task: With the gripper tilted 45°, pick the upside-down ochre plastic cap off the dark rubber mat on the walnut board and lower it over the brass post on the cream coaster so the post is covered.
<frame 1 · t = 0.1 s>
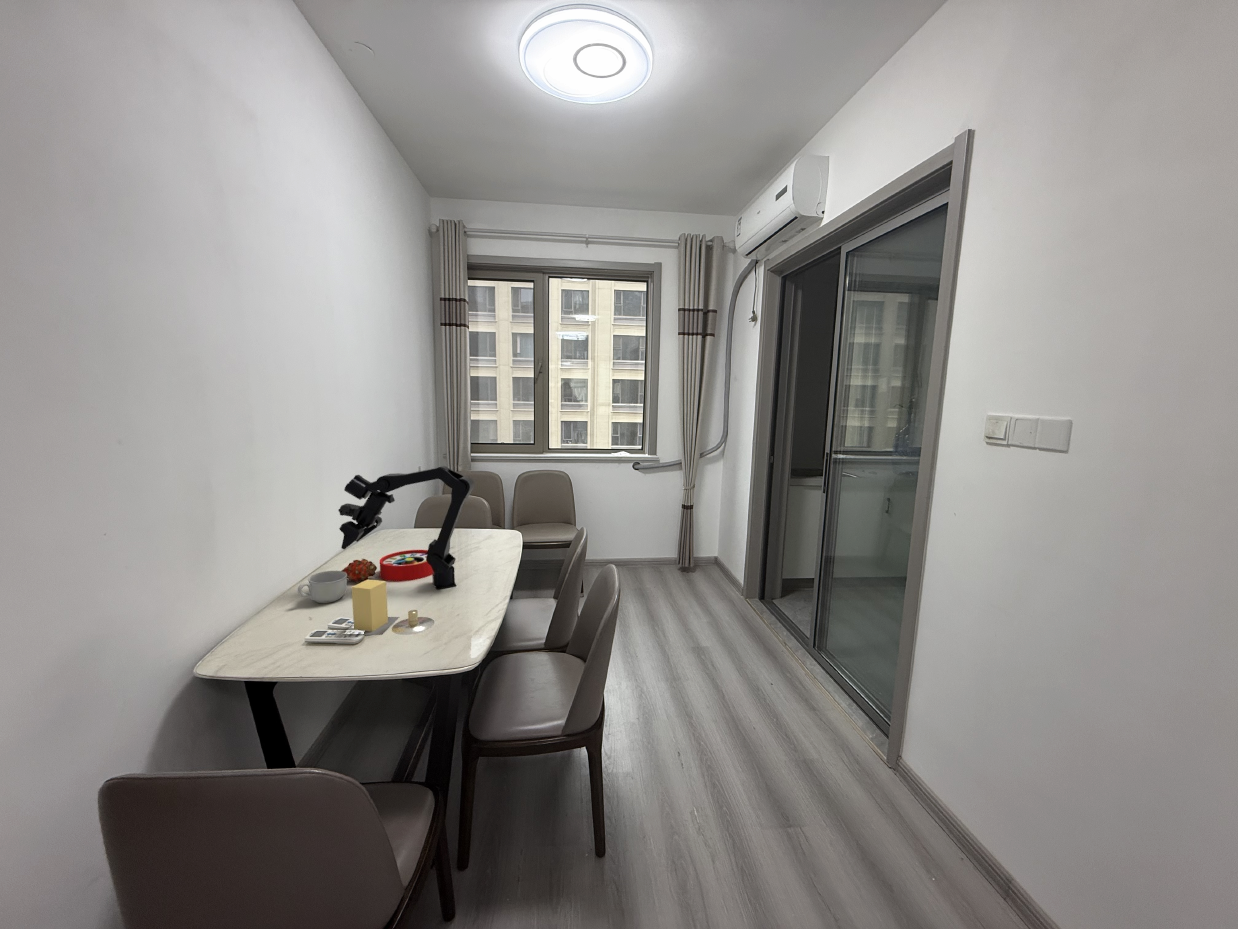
hand: (349, 544, 164), 15 cm above the table, tool tilted 35°, fingers open, 9 cm apart
brass post: (413, 626, 134), resting on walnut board
dragon fruit: (359, 581, 171), on the table
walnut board: (392, 629, 134), on the table
toy clock: (409, 573, 181), on the table
teacup: (323, 601, 154), on the table
cover cup: (371, 625, 134), point 1 cm above the table, touching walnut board
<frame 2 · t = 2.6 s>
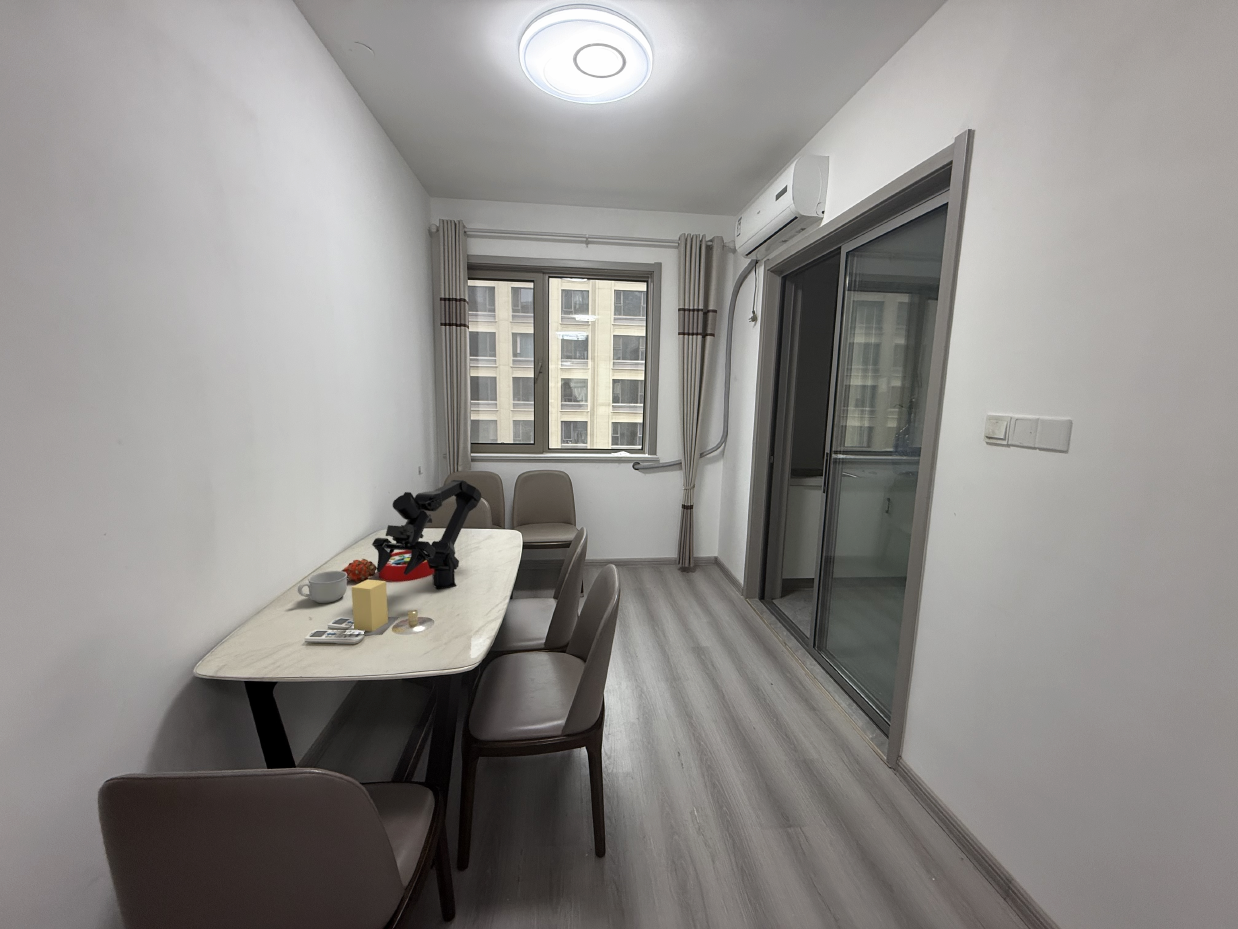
hand: (391, 573, 141), 13 cm above the table, tool tilted 45°, fingers open, 9 cm apart
nothing on the table moved.
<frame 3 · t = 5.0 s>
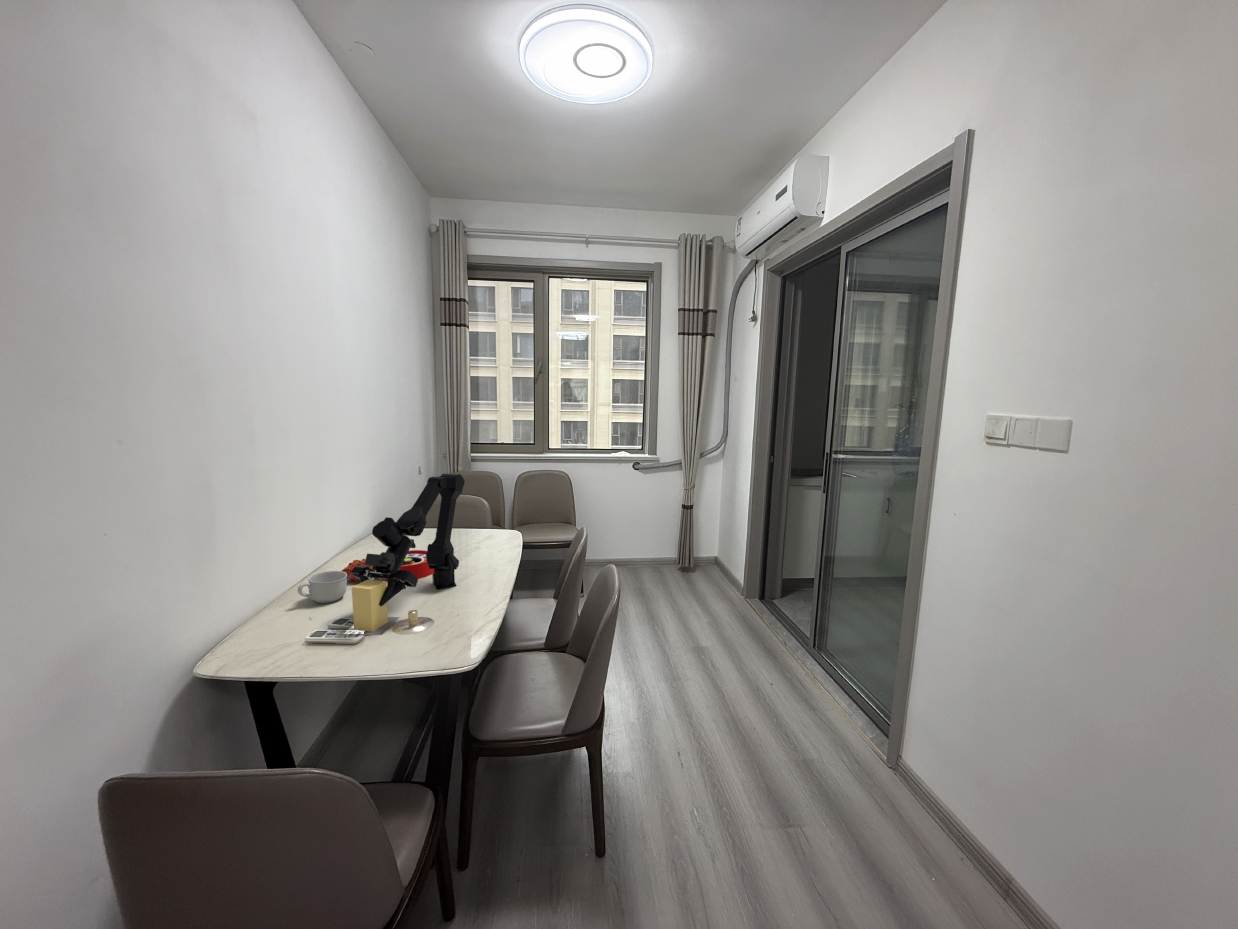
hand: (370, 604, 134), 7 cm above the table, tool tilted 45°, fingers closed on cover cup, 6 cm apart
cover cup: (371, 625, 134), point 1 cm above the table, touching gripper, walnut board
everything else where it was.
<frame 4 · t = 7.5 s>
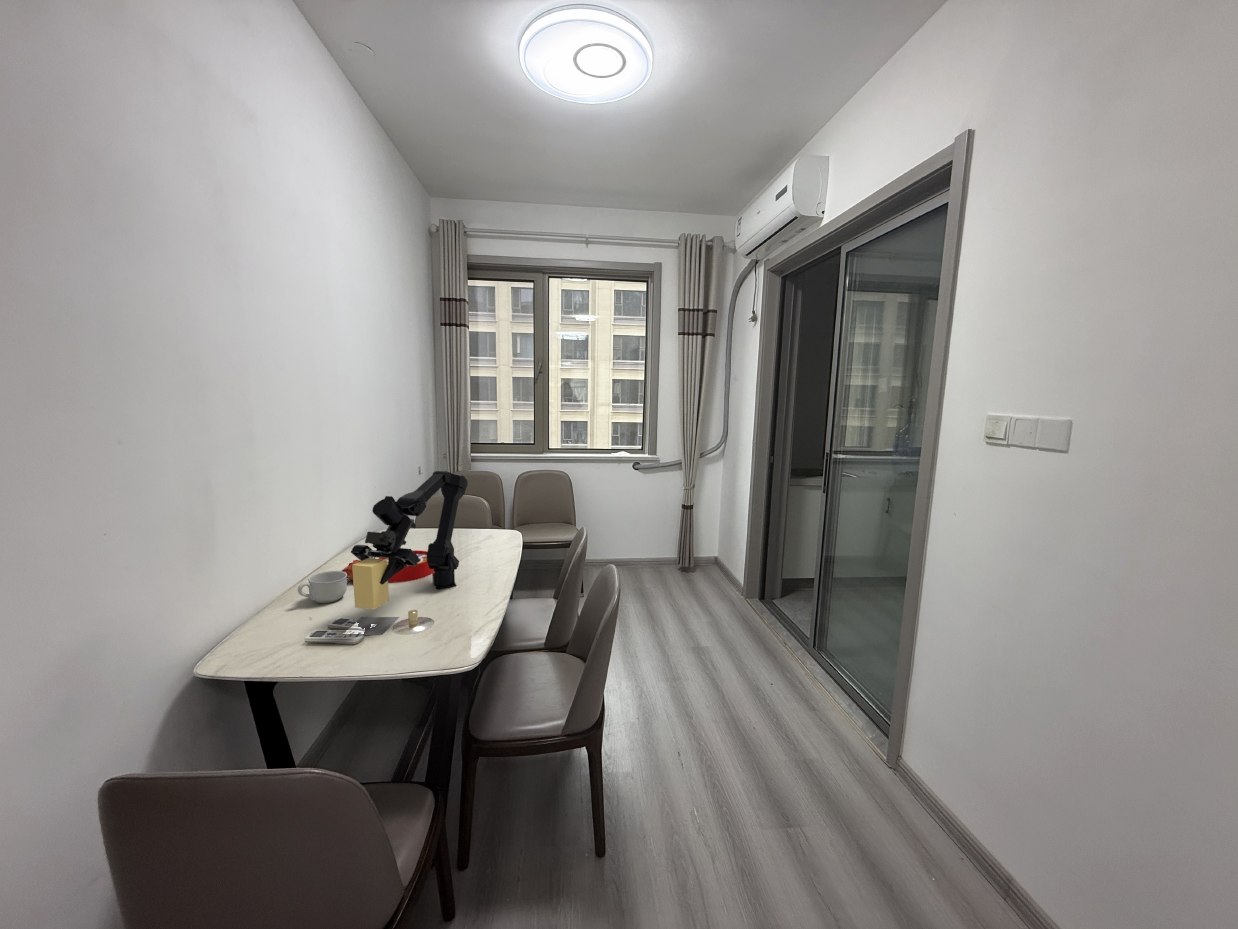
hand: (371, 582, 133), 13 cm above the table, tool tilted 45°, fingers closed on cover cup, 6 cm apart
cover cup: (372, 604, 133), point 7 cm above the table, touching gripper
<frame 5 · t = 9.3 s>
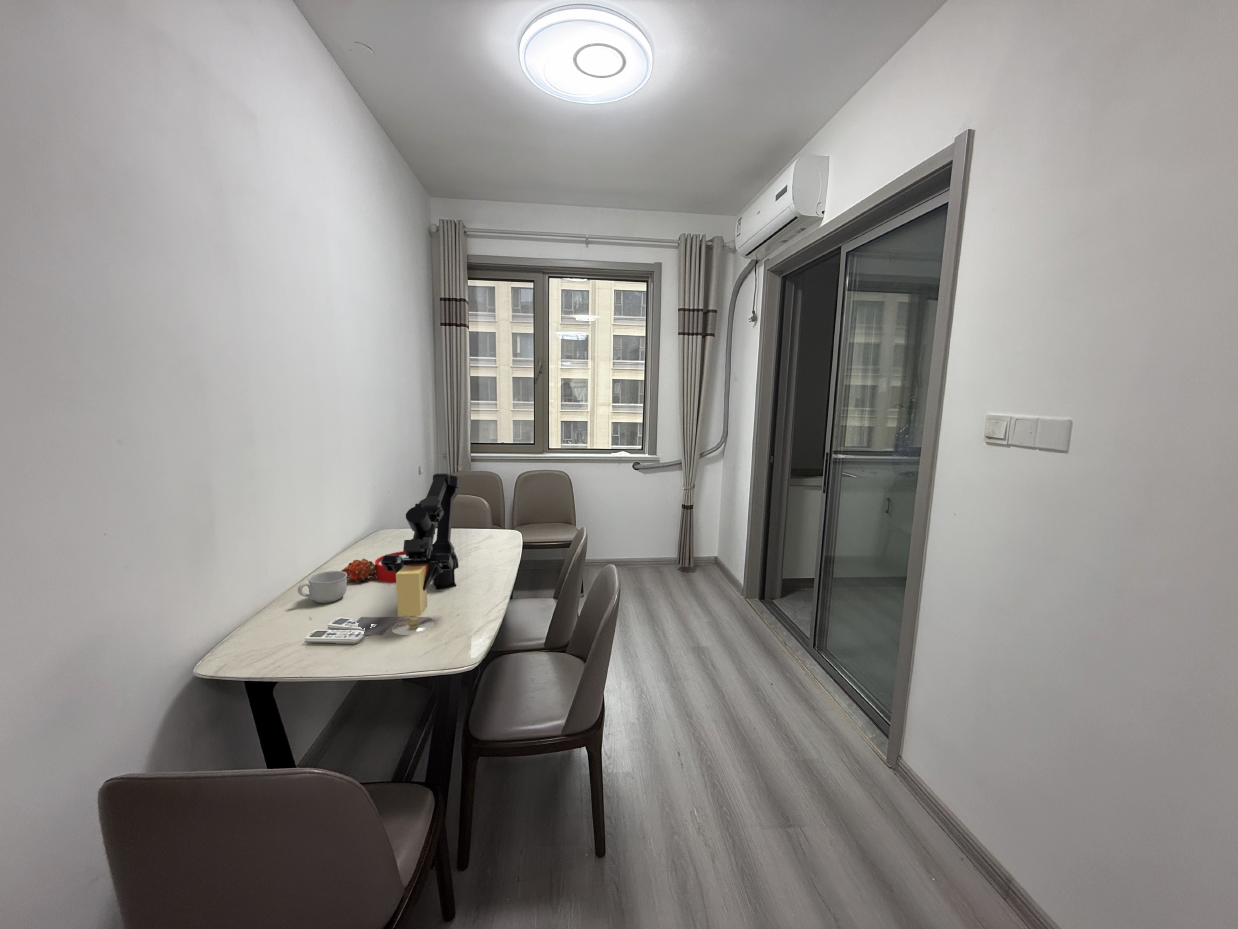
hand: (412, 590, 133), 11 cm above the table, tool tilted 45°, fingers closed on cover cup, 6 cm apart
cover cup: (413, 611, 134), point 5 cm above the table, touching gripper
when the fingers open (8 cm above the table, at t = 10.4 s): cover cup stays where it is, resting on brass post.
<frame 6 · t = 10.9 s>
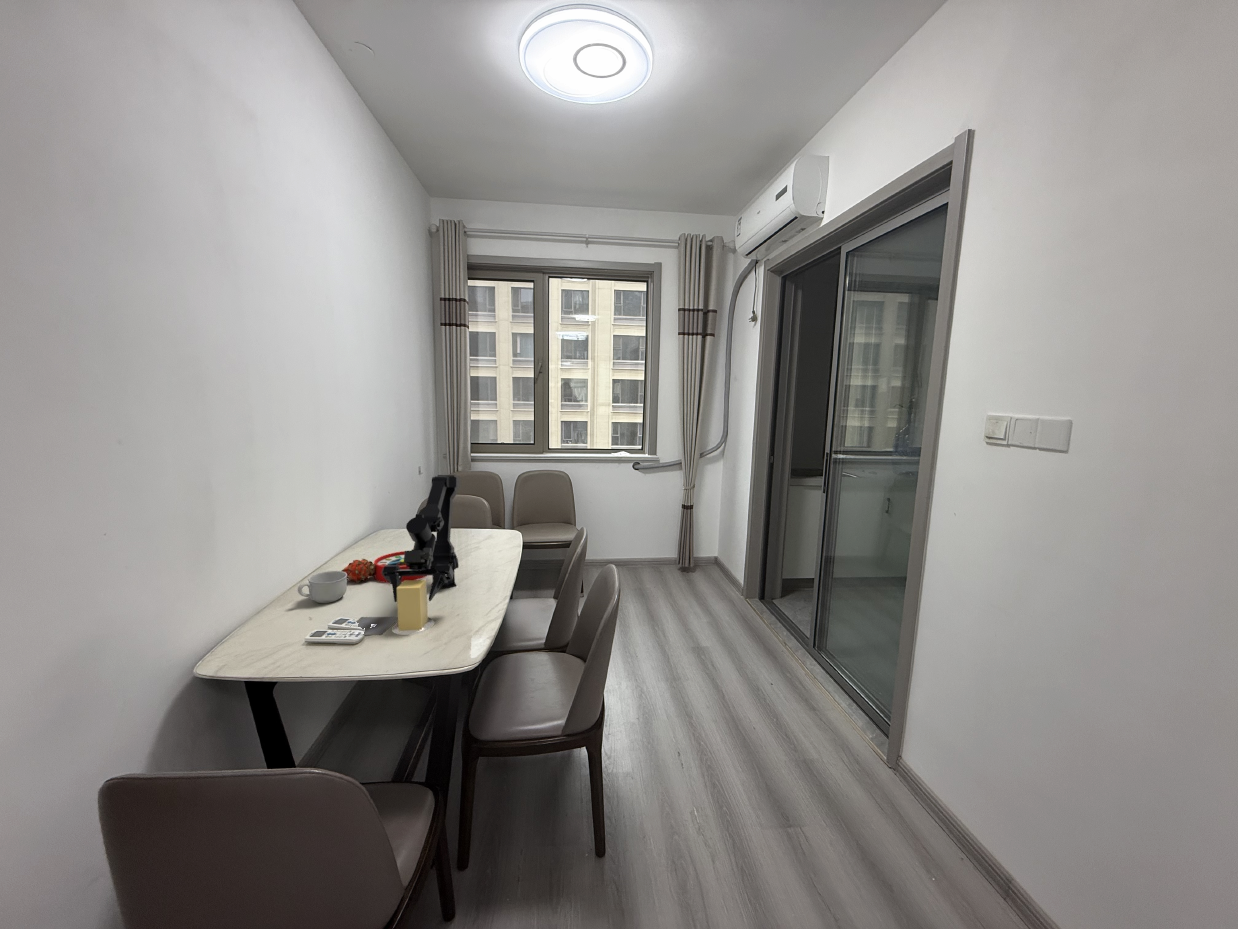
hand: (412, 601, 134), 8 cm above the table, tool tilted 45°, fingers open, 9 cm apart
cover cup: (413, 625, 135), point 1 cm above the table, touching brass post
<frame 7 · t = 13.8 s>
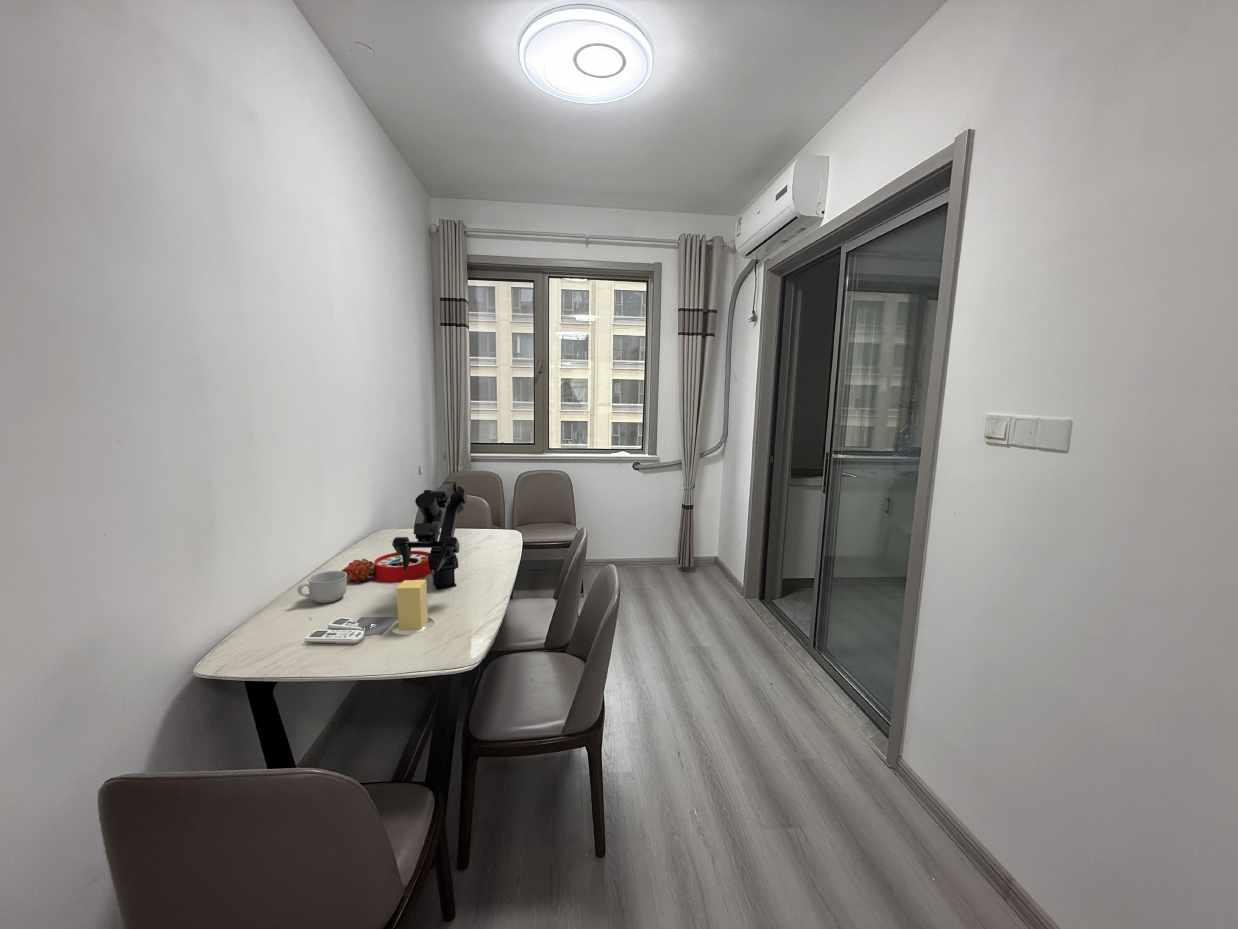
hand: (421, 570, 143), 14 cm above the table, tool tilted 45°, fingers open, 9 cm apart
dragon fruit: (359, 581, 171), on the table, touching toy clock
toy clock: (404, 574, 180), on the table, touching dragon fruit
everything else where it was.
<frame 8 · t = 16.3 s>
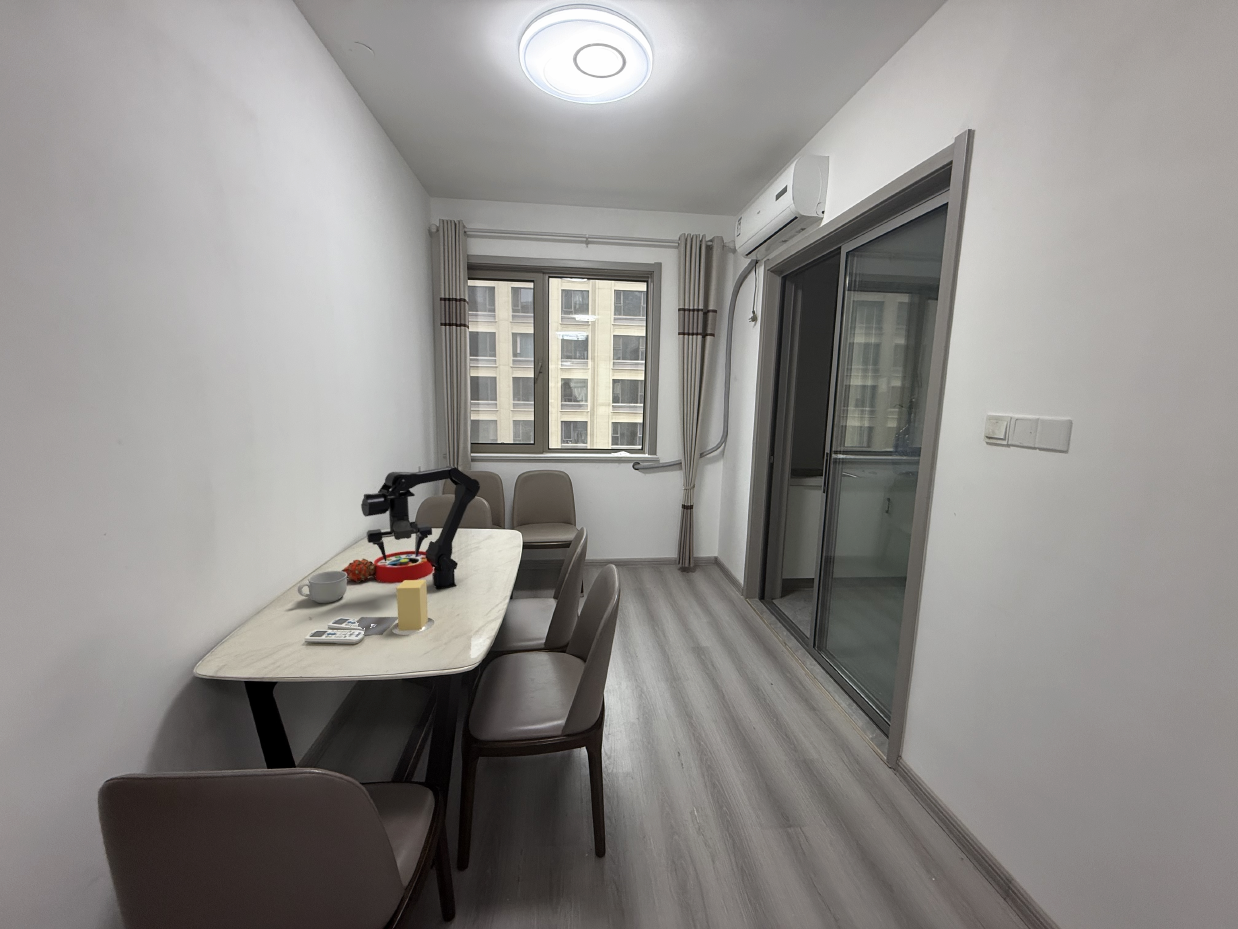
hand: (401, 558, 155), 13 cm above the table, tool pointing down, fingers open, 9 cm apart
dragon fruit: (359, 581, 171), on the table
toy clock: (404, 574, 180), on the table
everything else where it was.
at the end: cover cup 0.1 cm from the target spot, point 1.1 cm above the table; cover cup tilted 0°; the gripper is holding nothing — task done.
